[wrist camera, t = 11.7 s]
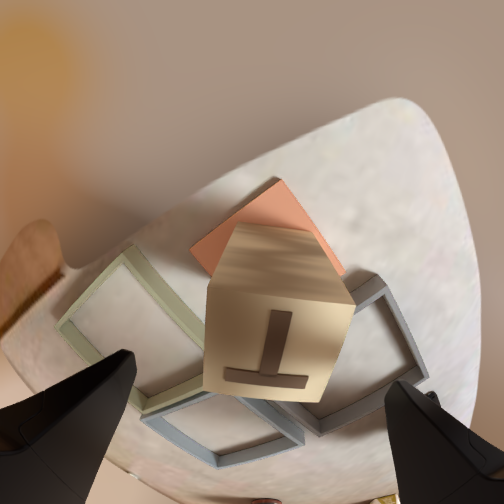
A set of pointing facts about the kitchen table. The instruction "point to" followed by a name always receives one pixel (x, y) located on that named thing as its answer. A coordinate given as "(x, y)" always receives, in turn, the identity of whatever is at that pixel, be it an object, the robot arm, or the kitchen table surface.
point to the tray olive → (166, 301)
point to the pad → (266, 213)
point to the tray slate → (281, 445)
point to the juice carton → (386, 500)
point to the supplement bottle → (266, 501)
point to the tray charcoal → (376, 400)
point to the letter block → (274, 316)
